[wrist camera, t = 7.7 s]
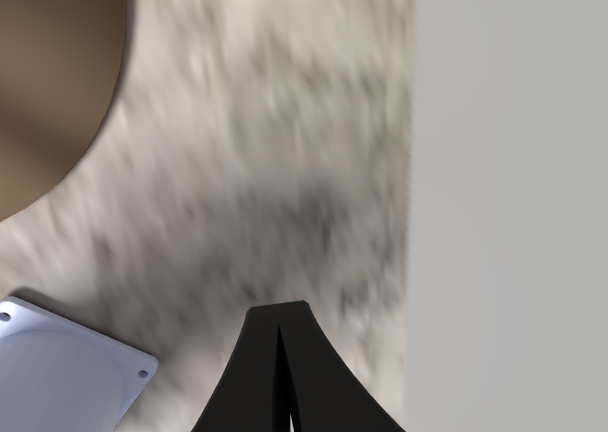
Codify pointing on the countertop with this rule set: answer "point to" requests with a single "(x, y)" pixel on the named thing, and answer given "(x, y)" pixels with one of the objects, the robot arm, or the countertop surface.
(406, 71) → the countertop surface
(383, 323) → the countertop surface
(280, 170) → the countertop surface
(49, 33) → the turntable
